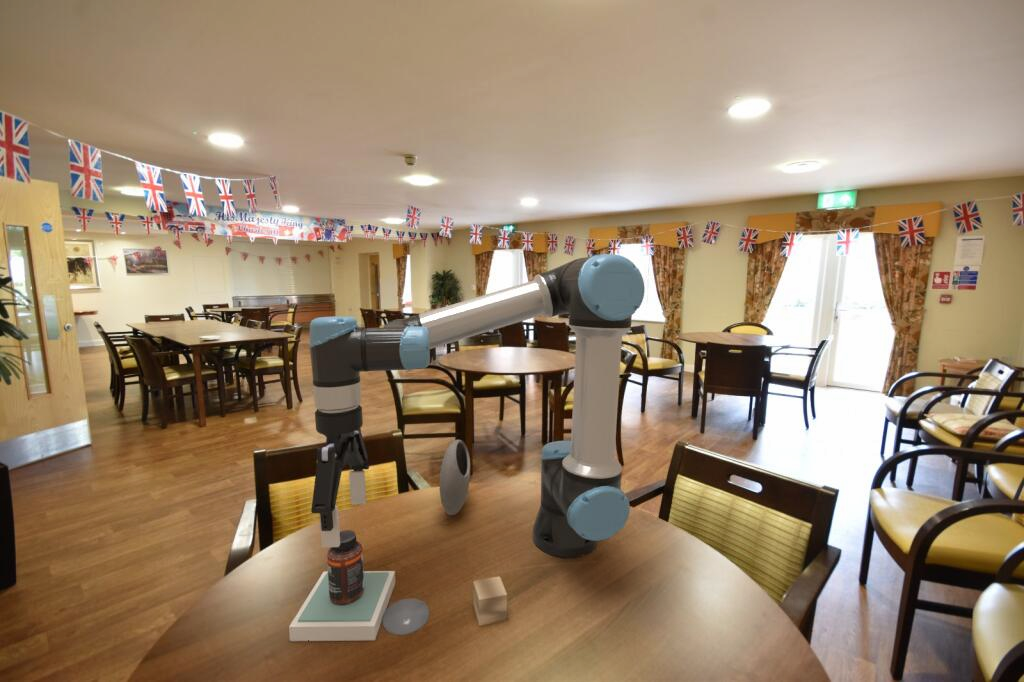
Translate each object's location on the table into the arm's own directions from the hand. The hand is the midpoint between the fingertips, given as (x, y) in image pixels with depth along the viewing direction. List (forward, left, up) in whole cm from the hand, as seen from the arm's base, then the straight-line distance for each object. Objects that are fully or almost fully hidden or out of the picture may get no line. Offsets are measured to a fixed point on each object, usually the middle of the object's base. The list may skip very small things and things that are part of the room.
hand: (346, 523), depth 77 cm
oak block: (-26, +1, -17) cm, 31 cm away
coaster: (-11, +2, -17) cm, 20 cm away
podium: (0, 0, -17) cm, 17 cm away
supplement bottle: (0, 0, -14) cm, 14 cm away
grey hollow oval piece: (-16, -35, -17) cm, 42 cm away
